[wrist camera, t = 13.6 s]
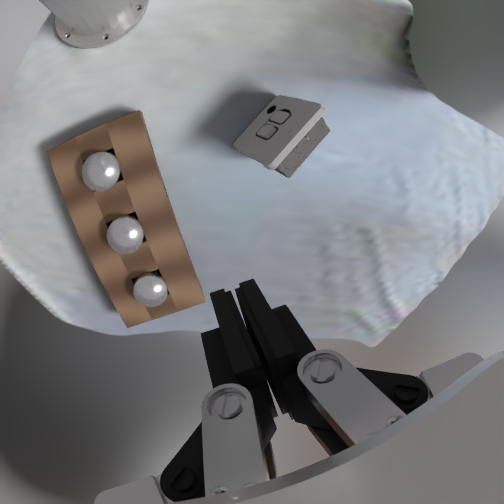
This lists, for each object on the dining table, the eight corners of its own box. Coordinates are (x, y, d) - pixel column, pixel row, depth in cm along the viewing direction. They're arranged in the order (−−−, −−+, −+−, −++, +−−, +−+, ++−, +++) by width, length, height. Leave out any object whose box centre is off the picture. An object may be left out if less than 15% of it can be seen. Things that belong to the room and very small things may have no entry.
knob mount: (57, 148, 29) (47, 151, 26) (141, 112, 30) (139, 110, 27) (129, 313, 41) (127, 327, 38) (202, 289, 42) (205, 302, 39)
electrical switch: (276, 94, 34) (314, 92, 26) (301, 120, 37) (341, 126, 29) (230, 145, 35) (255, 156, 28) (257, 169, 38) (288, 187, 30)
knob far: (130, 267, 38) (127, 283, 34) (159, 257, 38) (159, 272, 34) (143, 293, 40) (142, 311, 36) (171, 283, 40) (172, 300, 36)
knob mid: (108, 214, 34) (101, 226, 30) (138, 202, 34) (135, 212, 31) (120, 244, 36) (115, 258, 32) (150, 233, 37) (148, 246, 33)
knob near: (87, 157, 30) (76, 161, 26) (118, 143, 31) (111, 145, 27) (98, 189, 32) (89, 197, 28) (129, 176, 33) (124, 183, 29)
